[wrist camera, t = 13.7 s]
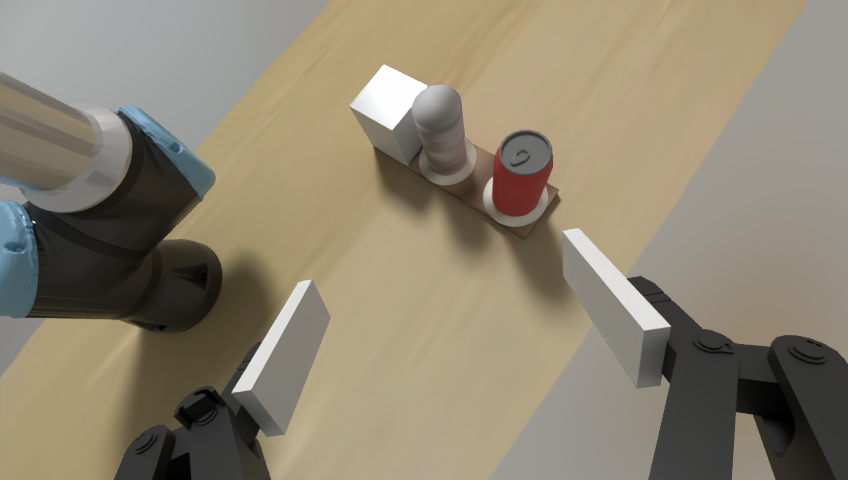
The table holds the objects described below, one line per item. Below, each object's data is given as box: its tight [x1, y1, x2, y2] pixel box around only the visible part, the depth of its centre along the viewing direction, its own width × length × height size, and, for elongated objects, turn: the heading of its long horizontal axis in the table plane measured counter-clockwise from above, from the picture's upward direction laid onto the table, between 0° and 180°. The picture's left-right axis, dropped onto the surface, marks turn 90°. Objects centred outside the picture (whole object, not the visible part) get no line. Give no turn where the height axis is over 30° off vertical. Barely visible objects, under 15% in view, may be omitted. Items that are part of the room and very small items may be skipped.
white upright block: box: [350, 65, 428, 167], centre depth 48 cm, size 8×8×10 cm
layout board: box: [409, 85, 559, 239], centre depth 42 cm, size 21×9×13 cm, turn 53°
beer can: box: [492, 130, 553, 217], centre depth 39 cm, size 7×7×12 cm
